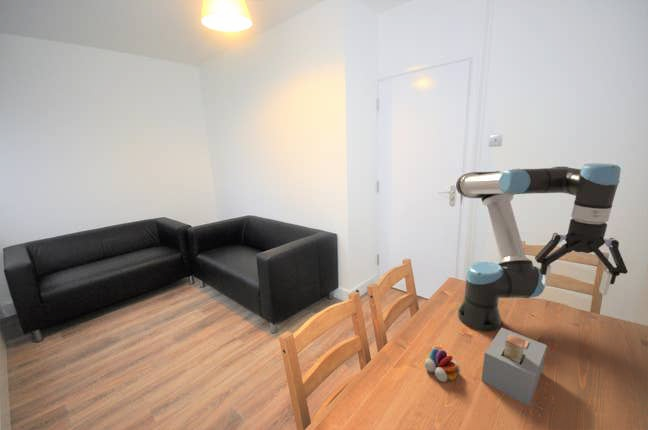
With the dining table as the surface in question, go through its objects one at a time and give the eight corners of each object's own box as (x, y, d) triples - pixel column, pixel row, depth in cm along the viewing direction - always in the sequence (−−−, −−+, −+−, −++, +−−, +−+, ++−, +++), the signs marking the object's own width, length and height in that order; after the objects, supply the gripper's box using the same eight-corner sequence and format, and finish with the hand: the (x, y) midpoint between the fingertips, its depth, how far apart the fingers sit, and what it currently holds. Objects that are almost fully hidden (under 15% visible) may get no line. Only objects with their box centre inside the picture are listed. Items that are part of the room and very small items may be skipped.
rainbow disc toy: (445, 388, 81) (447, 368, 79) (420, 366, 90) (421, 347, 88) (464, 377, 85) (466, 357, 83) (438, 356, 93) (439, 338, 92)
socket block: (481, 380, 83) (485, 351, 81) (497, 352, 94) (501, 326, 91) (529, 406, 75) (535, 375, 72) (541, 372, 85) (547, 344, 83)
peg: (501, 366, 81) (505, 340, 78) (505, 359, 83) (509, 333, 81) (517, 374, 78) (522, 347, 76) (520, 366, 81) (525, 340, 78)
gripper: (537, 220, 79) (524, 286, 84) (660, 229, 68) (636, 304, 74) (530, 213, 85) (519, 275, 91) (642, 220, 75) (622, 290, 81)
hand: (572, 288), depth 82 cm, fingers open, 13 cm apart
